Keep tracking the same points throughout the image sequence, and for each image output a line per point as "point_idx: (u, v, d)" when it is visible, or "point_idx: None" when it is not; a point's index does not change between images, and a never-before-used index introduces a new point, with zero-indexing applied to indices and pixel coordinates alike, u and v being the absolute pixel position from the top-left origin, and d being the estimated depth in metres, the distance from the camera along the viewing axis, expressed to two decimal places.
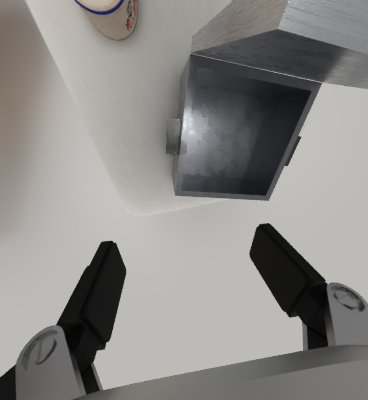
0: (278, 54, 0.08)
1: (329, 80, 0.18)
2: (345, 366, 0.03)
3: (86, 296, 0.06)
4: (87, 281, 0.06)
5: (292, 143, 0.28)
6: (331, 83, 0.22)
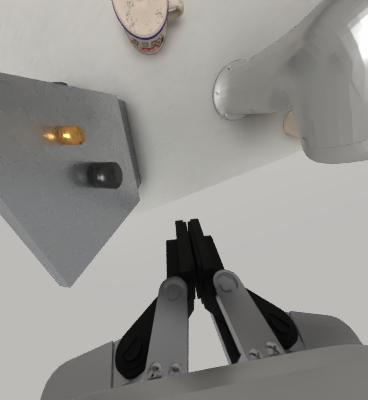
0: None
1: None
2: (345, 366, 0.03)
3: (189, 257, 0.07)
4: (183, 247, 0.08)
5: None
6: None
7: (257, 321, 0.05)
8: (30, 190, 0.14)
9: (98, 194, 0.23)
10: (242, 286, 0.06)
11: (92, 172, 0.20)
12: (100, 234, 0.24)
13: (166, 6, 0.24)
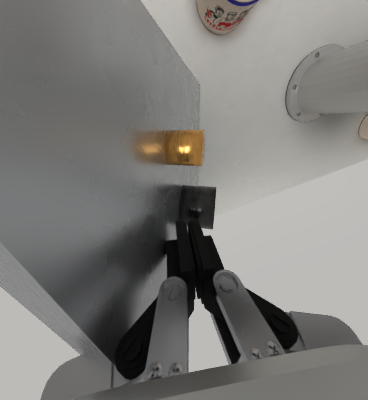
0: None
1: None
2: (345, 366, 0.03)
3: (189, 257, 0.07)
4: (183, 247, 0.08)
5: None
6: None
7: (257, 321, 0.05)
8: (136, 279, 0.06)
9: None
10: (242, 286, 0.06)
11: (189, 205, 0.12)
12: None
13: None
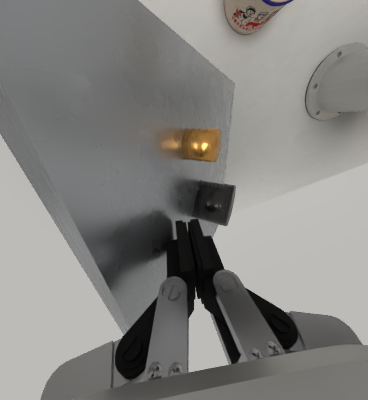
0: None
1: None
2: (345, 366, 0.03)
3: (189, 257, 0.07)
4: (183, 247, 0.08)
5: None
6: None
7: (257, 321, 0.05)
8: (143, 247, 0.08)
9: None
10: (242, 286, 0.06)
11: (204, 200, 0.13)
12: None
13: None
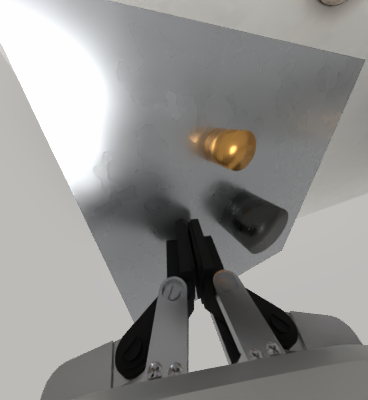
0: None
1: None
2: (345, 366, 0.03)
3: (189, 257, 0.07)
4: (183, 247, 0.08)
5: None
6: None
7: (257, 321, 0.05)
8: (134, 228, 0.09)
9: (225, 238, 0.14)
10: (242, 286, 0.06)
11: (233, 212, 0.11)
12: None
13: None
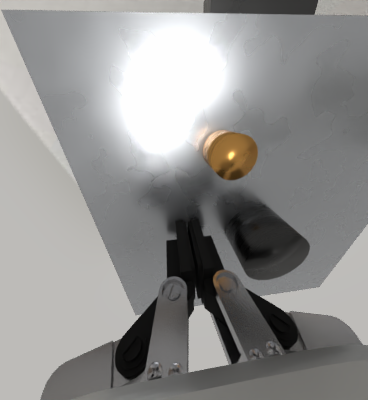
0: None
1: None
2: (345, 366, 0.03)
3: (189, 257, 0.07)
4: (183, 247, 0.08)
5: None
6: None
7: (257, 321, 0.05)
8: (129, 220, 0.10)
9: (232, 253, 0.13)
10: (241, 286, 0.06)
11: (237, 226, 0.10)
12: None
13: None
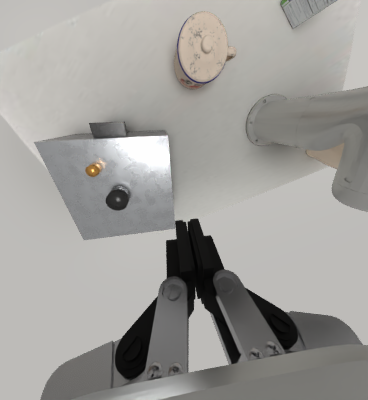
0: None
1: None
2: (345, 366, 0.03)
3: (189, 257, 0.07)
4: (183, 247, 0.08)
5: None
6: None
7: (257, 321, 0.05)
8: (71, 191, 0.29)
9: None
10: (242, 286, 0.06)
11: (109, 192, 0.29)
12: (112, 229, 0.34)
13: (226, 56, 0.26)
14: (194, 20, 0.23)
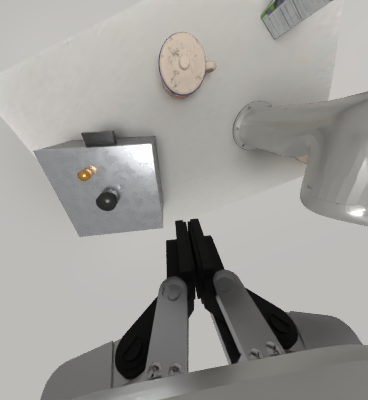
0: None
1: None
2: (345, 366, 0.03)
3: (189, 257, 0.07)
4: (183, 247, 0.08)
5: None
6: None
7: (257, 321, 0.05)
8: (66, 193, 0.32)
9: None
10: (242, 286, 0.06)
11: (100, 195, 0.32)
12: (105, 227, 0.38)
13: (204, 71, 0.28)
14: (172, 40, 0.25)
